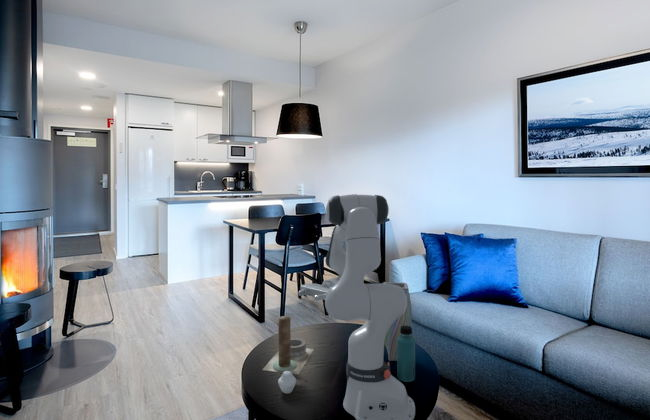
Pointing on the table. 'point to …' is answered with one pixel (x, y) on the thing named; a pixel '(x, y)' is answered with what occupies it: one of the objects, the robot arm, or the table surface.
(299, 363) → the birch board
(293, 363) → the sage pad
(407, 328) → the beverage bottle
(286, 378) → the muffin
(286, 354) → the walnut peg
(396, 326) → the vase
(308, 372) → the table surface
